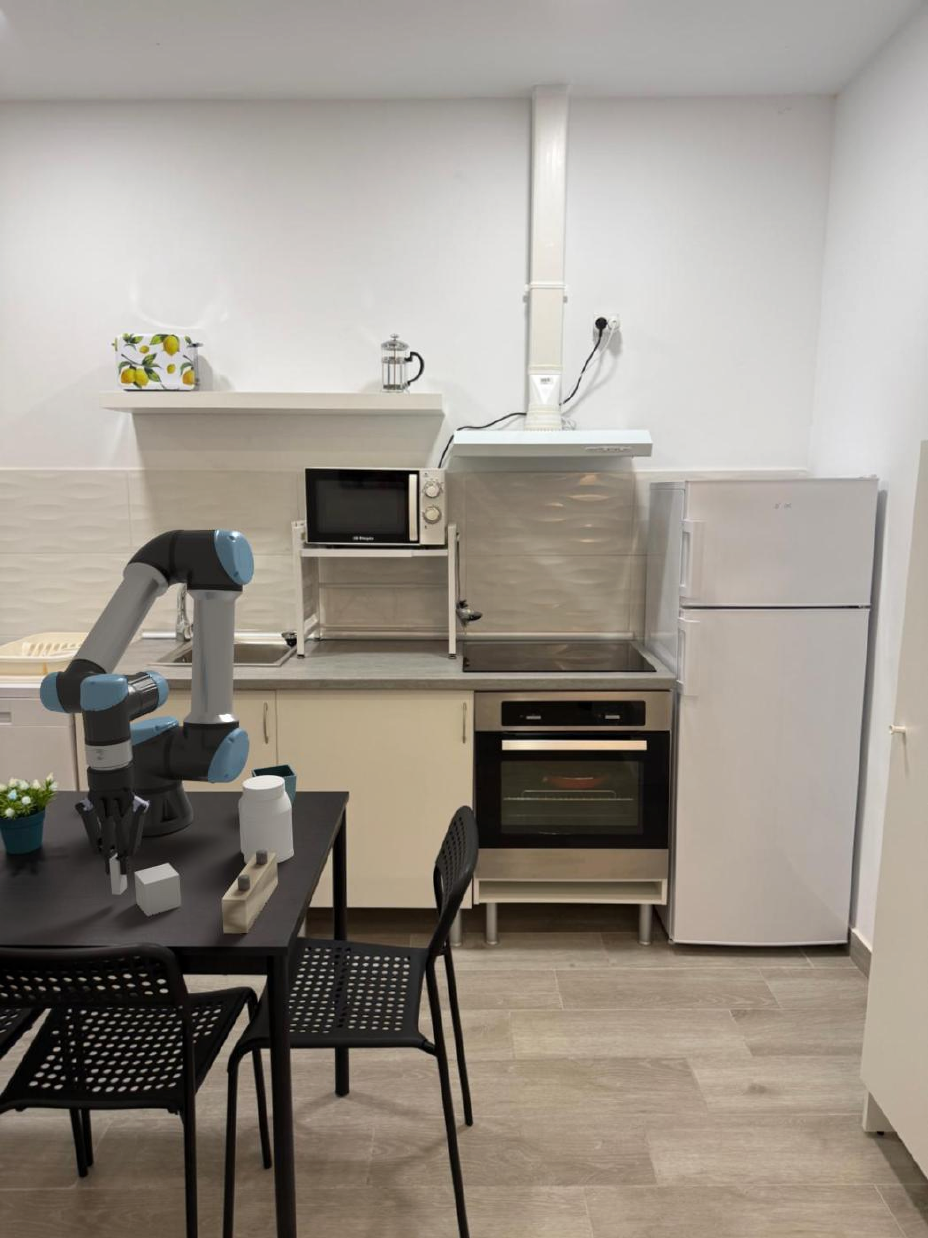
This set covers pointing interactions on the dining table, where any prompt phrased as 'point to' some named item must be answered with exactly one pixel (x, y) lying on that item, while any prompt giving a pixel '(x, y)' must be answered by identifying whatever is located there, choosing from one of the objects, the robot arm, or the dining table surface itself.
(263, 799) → the jar
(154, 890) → the white cube
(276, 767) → the flower pot
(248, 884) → the block
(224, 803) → the dining table surface
